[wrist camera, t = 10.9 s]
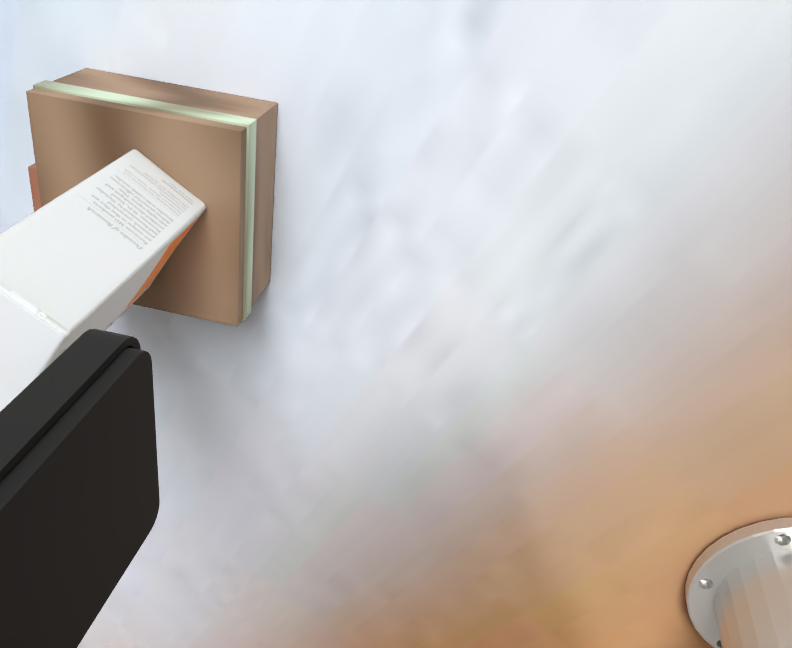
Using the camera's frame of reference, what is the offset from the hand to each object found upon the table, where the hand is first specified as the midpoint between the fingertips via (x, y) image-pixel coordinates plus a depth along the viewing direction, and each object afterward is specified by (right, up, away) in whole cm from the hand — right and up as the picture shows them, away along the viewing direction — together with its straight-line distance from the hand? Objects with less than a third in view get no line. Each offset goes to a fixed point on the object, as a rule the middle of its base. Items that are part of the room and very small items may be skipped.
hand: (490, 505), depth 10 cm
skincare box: (-13, +7, +26) cm, 30 cm away
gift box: (-13, +10, +30) cm, 34 cm away
